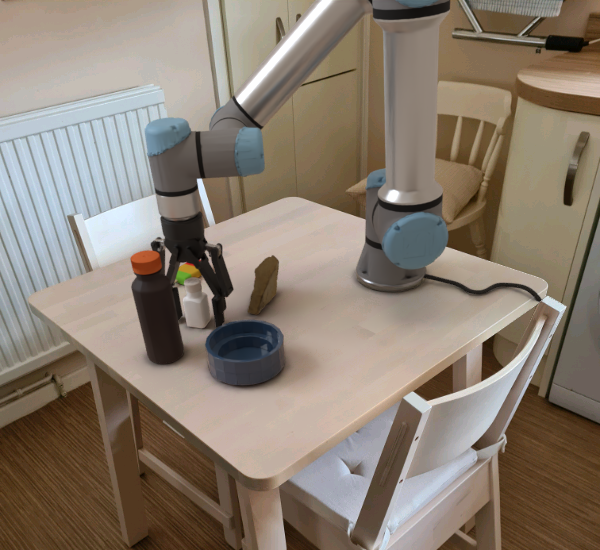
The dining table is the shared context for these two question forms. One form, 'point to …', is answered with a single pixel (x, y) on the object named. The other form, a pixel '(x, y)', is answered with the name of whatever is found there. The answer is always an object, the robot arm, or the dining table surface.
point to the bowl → (245, 352)
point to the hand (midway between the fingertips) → (199, 321)
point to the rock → (264, 284)
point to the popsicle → (186, 273)
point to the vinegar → (156, 308)
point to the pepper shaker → (196, 304)
